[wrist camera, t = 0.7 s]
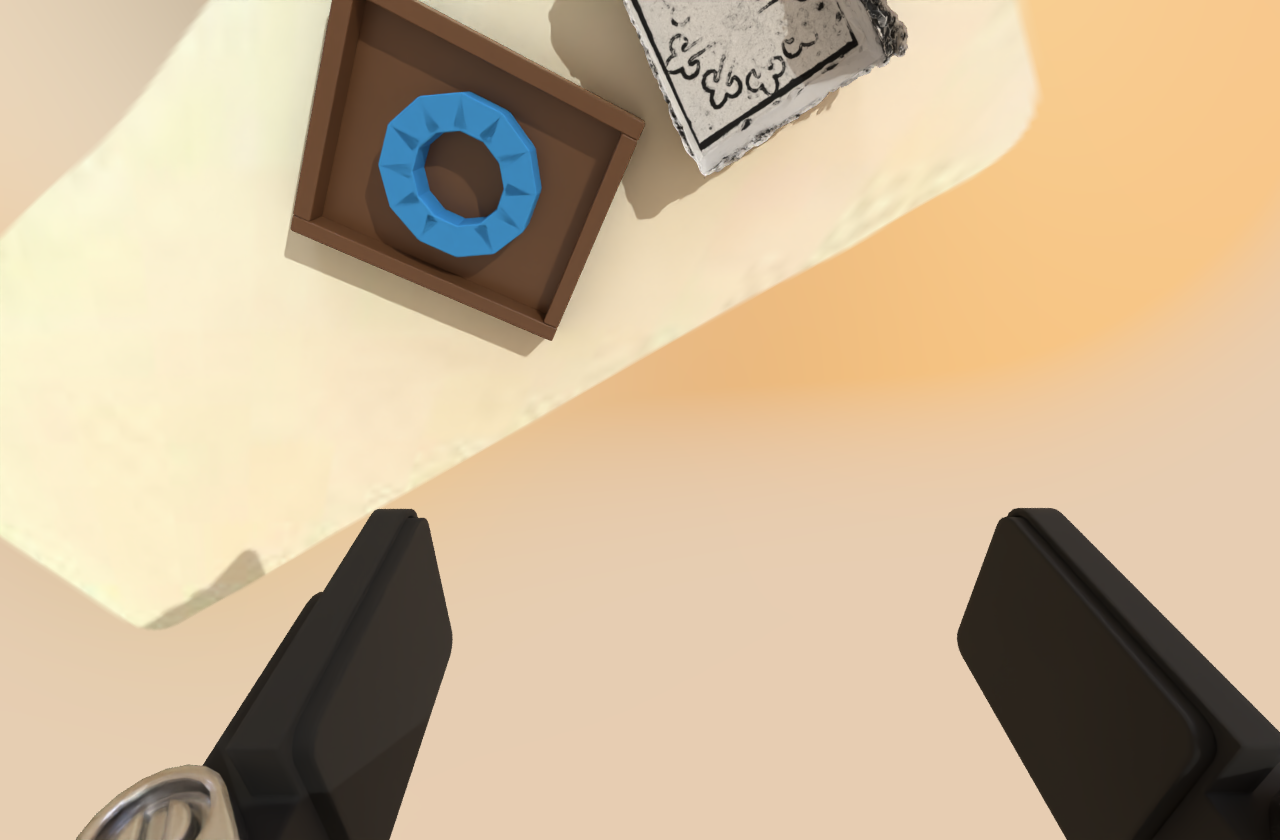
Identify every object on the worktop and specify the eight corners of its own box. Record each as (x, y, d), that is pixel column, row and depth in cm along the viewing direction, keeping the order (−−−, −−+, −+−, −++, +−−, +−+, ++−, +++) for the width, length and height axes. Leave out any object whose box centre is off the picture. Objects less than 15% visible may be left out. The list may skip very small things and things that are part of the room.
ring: (415, 63, 27) (402, 62, 25) (561, 137, 28) (556, 140, 27) (379, 210, 30) (365, 217, 28) (512, 269, 31) (505, 279, 30)
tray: (357, -32, 26) (338, -40, 24) (645, 120, 28) (645, 123, 27) (308, 222, 31) (289, 230, 29) (555, 328, 34) (551, 341, 32)
